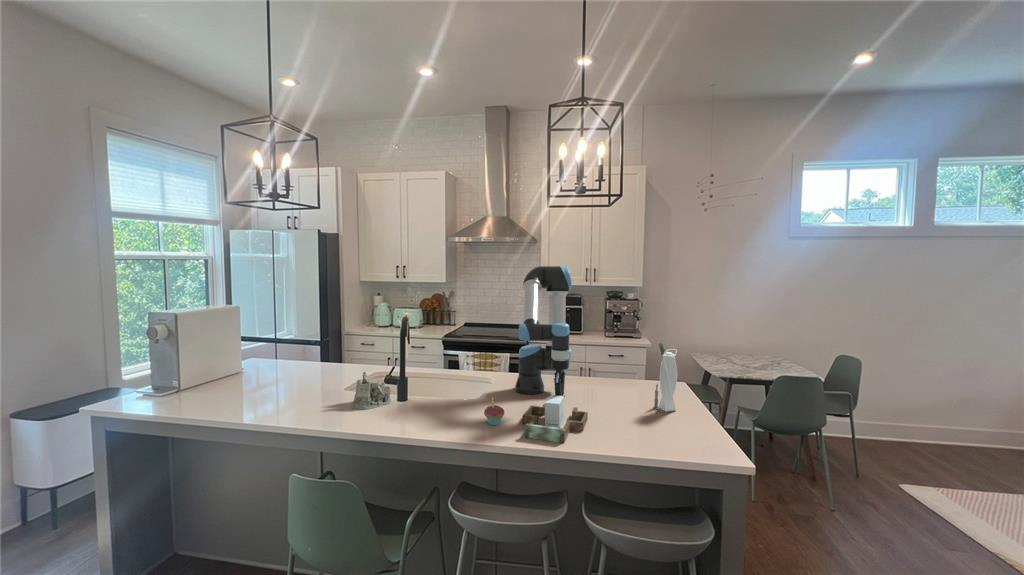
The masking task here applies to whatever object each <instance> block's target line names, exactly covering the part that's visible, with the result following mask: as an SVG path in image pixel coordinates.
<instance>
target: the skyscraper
mask: <svg viewBox="0 0 1024 575" xmlns="http://www.w3.org/2000/svg"><path fill="white" fill-rule="evenodd" d="M670 351H675V353H673V352H670ZM677 353H678V349H676V348H668V349H666V350H665V351H664V352H663V354H662V355H661V356H662V358H661V362H660V368H659V385H658V384H656V385H655V390H654V405H653V407H654V408H653V409H655V408H656V409H655V410H657V409H658V410H657V411H659V410H660V411H662V412H666V413H670V412H669V411H674V412H676V411H677V409H676V406H675V399H674V394H675V391H676V388H677V384H678V367H677V360H676V356H677ZM658 386H659V387H660V388H659V387H658ZM658 388H659V389H660V394H661V399H660V401H659V389H658ZM660 411H659V412H660ZM662 412H661V413H662Z"/></svg>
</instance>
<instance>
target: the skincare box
mask: <svg viewBox="0 0 1024 575" xmlns="http://www.w3.org/2000/svg"><path fill="white" fill-rule="evenodd" d="M564 396H565V395H564ZM564 396H557V395H555V394H550V395H549V396H548V397H547V399H546V401H545V402H544V404H545V416H544V426H549V427H556V428H562V425H563V424H564V421H565V397H564Z"/></svg>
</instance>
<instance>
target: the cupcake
mask: <svg viewBox="0 0 1024 575" xmlns="http://www.w3.org/2000/svg"><path fill="white" fill-rule="evenodd" d="M494 404H495V402H494V396H491V405H489V406H487V407H486V408H484V411H483V413H484V414H483V415H484V416H485V417H486V419H487V423H488V424H489V425H491V426H497V425H500V423H501V421H502V418H503V417H504V415H505V410H504V408H503V407H501V406H499V405H494Z"/></svg>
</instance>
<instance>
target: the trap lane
mask: <svg viewBox="0 0 1024 575" xmlns="http://www.w3.org/2000/svg"><path fill="white" fill-rule="evenodd" d="M588 413H589V412H588V411H582V410H581V411H580V410H578V407H577V406H575V407H574V406H573V408H572V411H571V420H570V419H569V420H566V421H565V424H564V426H563V427H560V428H556V427H549V426H545V425H541V424H540V425H539V419H540V418H541V416H544V417H545V403H543V405H542V406H541V405H540V406H538V405H530V406H529V407H527V409H526V411H525V412H524V413H523V415H522V424H523V425H525V430H524V431H525V432H524V434H525V436H524V438H525V439H526V438H527V439H531V438H533V440H538V439H540V441H545V440H547V441H546V442H552V441H553V442H552V443H559V442H560V443H559V444H565V442H566V441H567V438H568V436H569V434H570V432H571V431H573V430H575V431H576V432H581V431H583V432H584V429H585V428H584V427H586V425H587V423H588V415H589V414H588Z"/></svg>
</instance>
